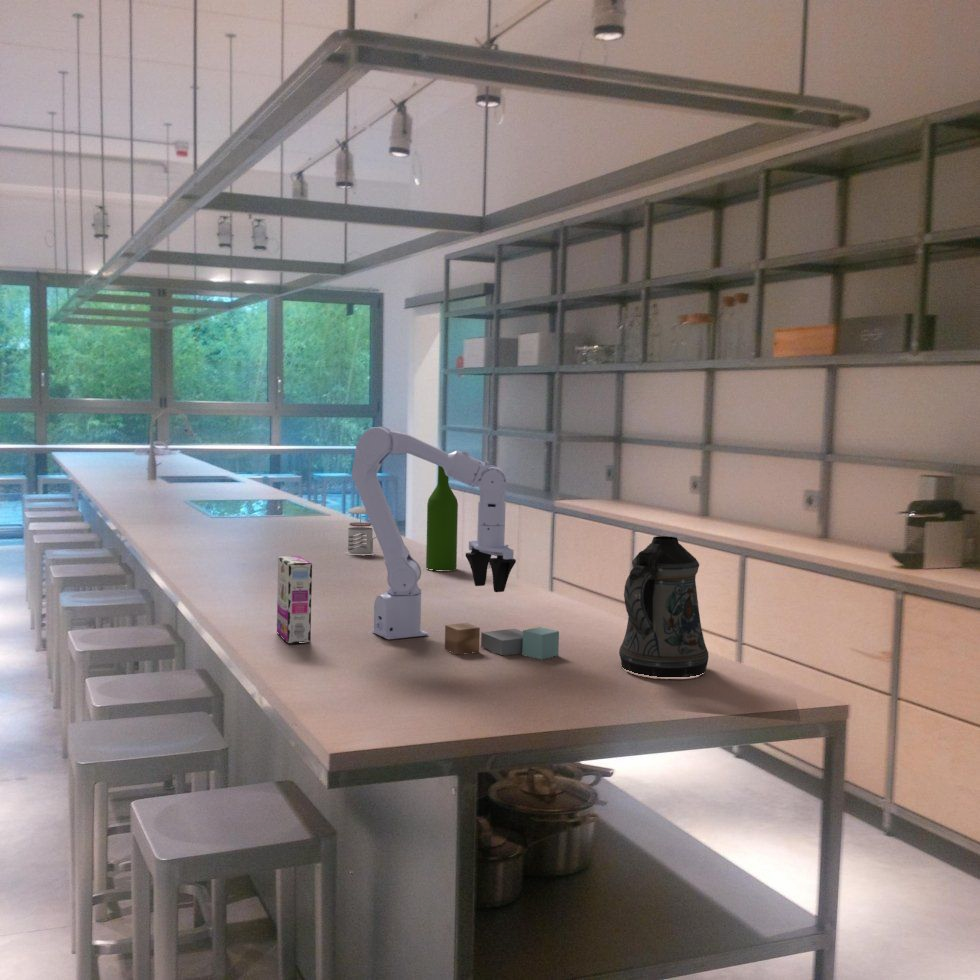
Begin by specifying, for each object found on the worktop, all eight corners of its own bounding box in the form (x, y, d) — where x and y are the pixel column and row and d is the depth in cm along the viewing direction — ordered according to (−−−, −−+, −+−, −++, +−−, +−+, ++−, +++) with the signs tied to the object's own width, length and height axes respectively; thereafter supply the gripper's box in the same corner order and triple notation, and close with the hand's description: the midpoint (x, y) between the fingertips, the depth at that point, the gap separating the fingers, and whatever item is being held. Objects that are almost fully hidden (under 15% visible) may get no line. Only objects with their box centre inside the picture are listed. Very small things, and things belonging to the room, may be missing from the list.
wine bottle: (462, 570, 304) (464, 459, 302) (436, 572, 299) (438, 459, 297) (446, 565, 312) (448, 457, 309) (420, 568, 307) (422, 457, 304)
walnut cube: (457, 655, 203) (457, 630, 202) (444, 649, 207) (445, 625, 206) (479, 652, 205) (479, 627, 205) (466, 647, 209) (467, 622, 209)
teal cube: (541, 660, 200) (542, 634, 200) (522, 655, 204) (523, 630, 203) (558, 656, 204) (559, 631, 203) (539, 651, 207) (539, 627, 207)
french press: (349, 551, 337) (350, 474, 335) (384, 552, 336) (385, 475, 333) (340, 555, 327) (341, 476, 325) (376, 557, 326) (378, 477, 324)
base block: (501, 655, 203) (502, 640, 202) (481, 646, 209) (481, 632, 209) (536, 651, 207) (536, 636, 207) (514, 643, 214) (514, 628, 213)
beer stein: (708, 662, 201) (714, 534, 199) (706, 688, 183) (712, 547, 180) (623, 655, 205) (627, 530, 203) (612, 680, 186) (617, 542, 184)
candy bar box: (312, 643, 209) (313, 562, 208) (287, 645, 207) (288, 563, 206) (299, 631, 219) (300, 554, 218) (276, 633, 217) (276, 555, 216)
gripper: (526, 527, 213) (524, 593, 214) (489, 519, 225) (487, 581, 226) (497, 529, 209) (495, 595, 210) (461, 521, 222) (459, 584, 223)
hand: (489, 588), depth 218 cm, fingers open, 7 cm apart
